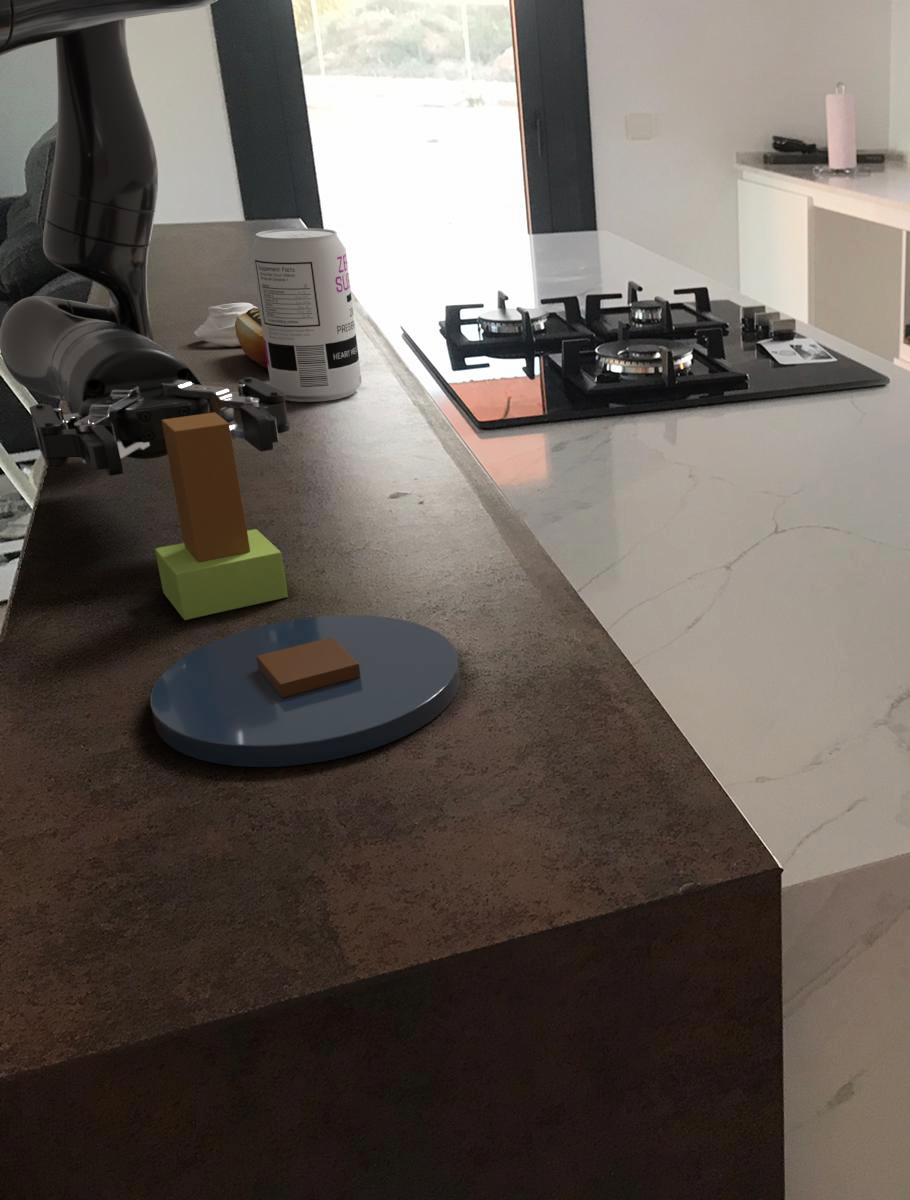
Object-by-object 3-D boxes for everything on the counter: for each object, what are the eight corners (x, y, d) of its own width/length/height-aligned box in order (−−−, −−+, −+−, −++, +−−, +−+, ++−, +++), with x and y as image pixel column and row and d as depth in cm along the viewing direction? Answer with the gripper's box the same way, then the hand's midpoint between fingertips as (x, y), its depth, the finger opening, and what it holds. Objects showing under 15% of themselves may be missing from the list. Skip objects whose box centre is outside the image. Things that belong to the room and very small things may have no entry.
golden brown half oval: (258, 379, 128) (250, 329, 126) (232, 353, 138) (225, 307, 136) (309, 374, 131) (302, 325, 129) (281, 349, 141) (274, 303, 139)
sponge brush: (184, 620, 75) (149, 439, 71) (163, 593, 79) (128, 419, 74) (288, 597, 78) (261, 423, 74) (263, 572, 82) (236, 404, 78)
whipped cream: (194, 357, 141) (182, 313, 138) (203, 338, 146) (191, 296, 144) (270, 349, 142) (260, 306, 140) (276, 331, 148) (266, 289, 145)
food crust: (282, 698, 64) (279, 684, 64) (257, 669, 67) (255, 655, 66) (361, 677, 66) (359, 663, 66) (334, 649, 69) (332, 636, 69)
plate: (199, 802, 57) (194, 779, 57) (123, 678, 68) (119, 658, 68) (507, 709, 66) (506, 688, 65) (396, 612, 77) (394, 594, 76)
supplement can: (260, 390, 124) (235, 231, 118) (343, 379, 129) (323, 225, 123) (290, 408, 118) (266, 241, 112) (376, 395, 123) (357, 234, 117)
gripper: (-2, 349, 82) (44, 402, 71) (228, 325, 91) (304, 368, 79) (24, 460, 85) (73, 529, 74) (245, 427, 94) (320, 485, 82)
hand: (192, 446), depth 76 cm, fingers open, 8 cm apart
